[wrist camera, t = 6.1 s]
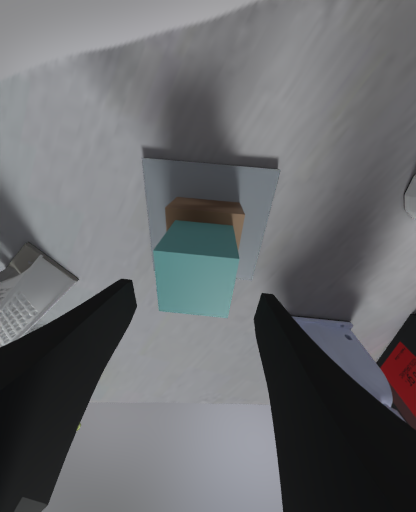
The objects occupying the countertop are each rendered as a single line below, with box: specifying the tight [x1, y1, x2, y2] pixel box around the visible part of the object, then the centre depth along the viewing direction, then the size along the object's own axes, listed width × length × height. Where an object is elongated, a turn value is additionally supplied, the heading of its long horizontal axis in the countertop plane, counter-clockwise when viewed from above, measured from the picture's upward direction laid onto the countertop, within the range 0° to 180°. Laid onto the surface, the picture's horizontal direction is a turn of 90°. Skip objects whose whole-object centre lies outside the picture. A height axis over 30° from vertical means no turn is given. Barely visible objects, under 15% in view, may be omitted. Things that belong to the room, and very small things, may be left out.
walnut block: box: [165, 197, 245, 250], centre depth 16 cm, size 6×6×4 cm
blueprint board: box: [142, 158, 280, 280], centre depth 18 cm, size 12×12×1 cm
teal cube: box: [153, 220, 239, 318], centre depth 12 cm, size 4×4×5 cm
